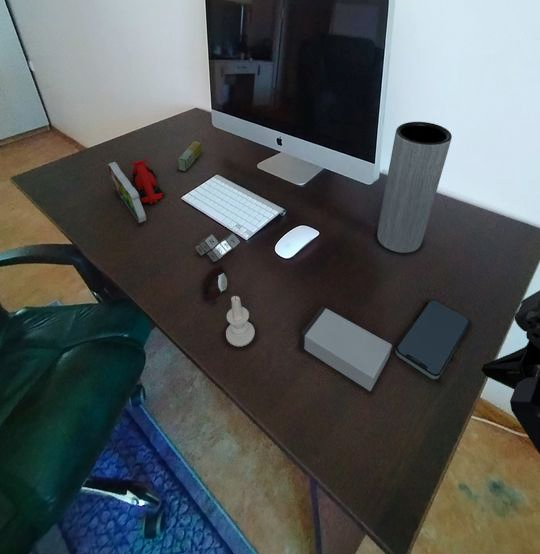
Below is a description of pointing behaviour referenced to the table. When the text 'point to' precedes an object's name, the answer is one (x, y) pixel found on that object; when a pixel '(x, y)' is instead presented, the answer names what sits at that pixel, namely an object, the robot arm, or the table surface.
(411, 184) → the planter
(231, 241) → the building blocks
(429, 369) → the smartphone
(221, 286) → the watch
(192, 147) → the medication box
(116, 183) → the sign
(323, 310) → the box with lid
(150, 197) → the toy car
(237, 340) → the candle
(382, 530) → the table surface
